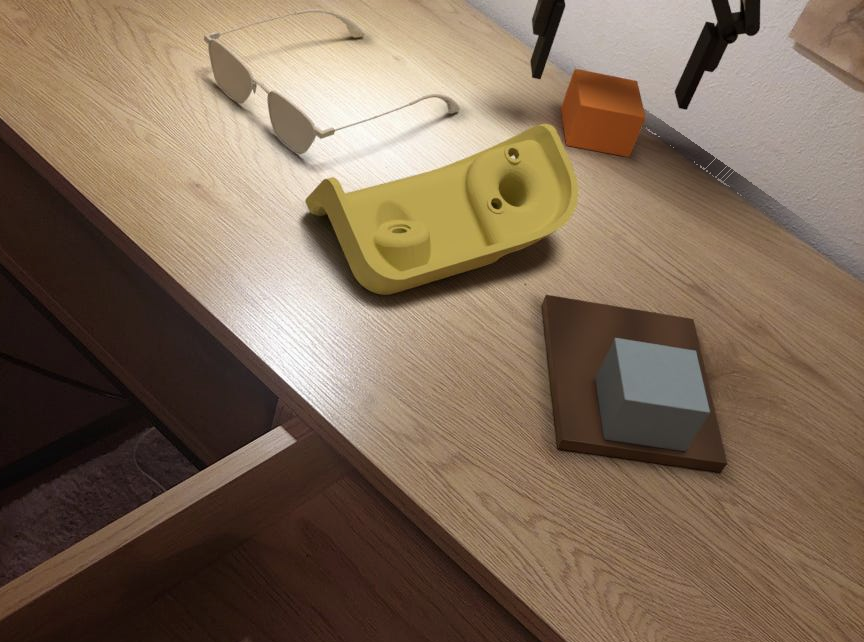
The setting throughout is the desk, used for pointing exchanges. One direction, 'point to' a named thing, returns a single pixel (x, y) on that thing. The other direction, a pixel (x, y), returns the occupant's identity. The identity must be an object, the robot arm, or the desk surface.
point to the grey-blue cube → (651, 395)
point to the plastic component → (452, 212)
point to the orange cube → (602, 113)
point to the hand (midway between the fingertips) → (608, 86)
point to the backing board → (581, 361)
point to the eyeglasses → (283, 113)
